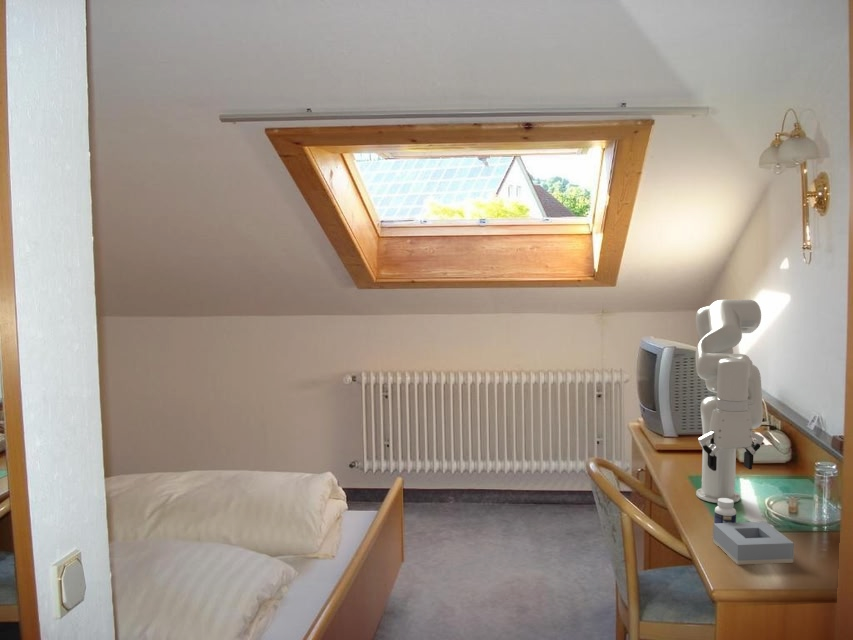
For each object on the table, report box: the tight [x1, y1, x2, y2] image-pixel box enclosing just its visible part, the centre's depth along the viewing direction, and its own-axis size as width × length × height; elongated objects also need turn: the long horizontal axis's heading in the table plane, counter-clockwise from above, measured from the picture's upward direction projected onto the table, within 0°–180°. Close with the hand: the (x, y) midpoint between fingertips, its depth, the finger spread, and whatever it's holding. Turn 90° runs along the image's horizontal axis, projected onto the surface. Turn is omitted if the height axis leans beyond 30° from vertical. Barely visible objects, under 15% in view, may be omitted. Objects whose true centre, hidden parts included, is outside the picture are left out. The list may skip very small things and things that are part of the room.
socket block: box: [712, 521, 795, 566], centre depth 189 cm, size 14×14×5 cm
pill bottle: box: [713, 498, 737, 523], centre depth 200 cm, size 5×5×10 cm
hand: (730, 468), depth 197 cm, fingers open, 9 cm apart
